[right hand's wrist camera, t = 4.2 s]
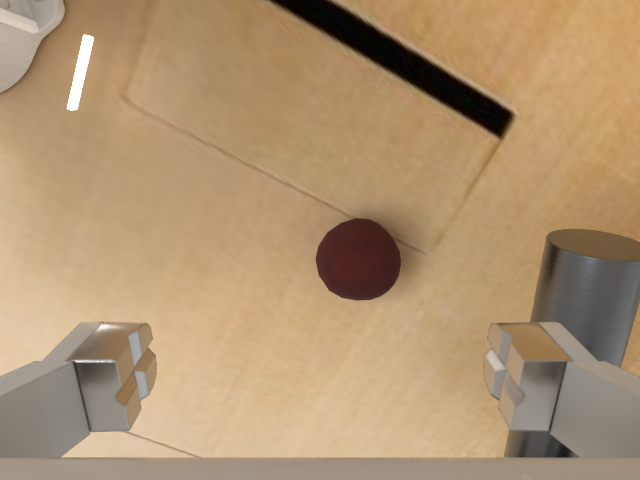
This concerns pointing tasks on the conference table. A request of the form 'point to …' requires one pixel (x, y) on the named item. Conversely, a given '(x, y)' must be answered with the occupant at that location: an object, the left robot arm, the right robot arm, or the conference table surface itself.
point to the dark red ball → (358, 260)
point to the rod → (583, 308)
